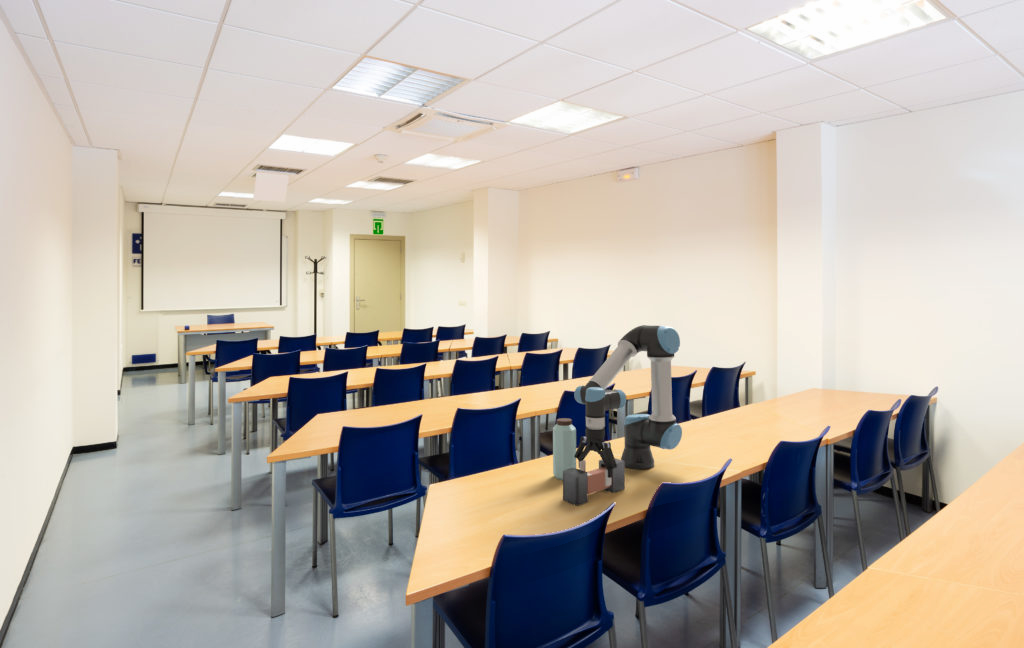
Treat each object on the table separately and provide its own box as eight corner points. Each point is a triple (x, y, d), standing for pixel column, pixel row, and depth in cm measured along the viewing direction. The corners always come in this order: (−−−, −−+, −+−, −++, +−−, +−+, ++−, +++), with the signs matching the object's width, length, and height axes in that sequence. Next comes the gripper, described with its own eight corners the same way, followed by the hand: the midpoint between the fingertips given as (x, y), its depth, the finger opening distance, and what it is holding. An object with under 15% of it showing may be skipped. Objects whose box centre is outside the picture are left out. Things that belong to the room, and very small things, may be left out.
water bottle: (575, 481, 230) (574, 422, 229) (551, 480, 232) (551, 422, 231) (577, 474, 240) (576, 417, 239) (554, 472, 242) (554, 417, 241)
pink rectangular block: (611, 481, 223) (611, 464, 223) (618, 484, 220) (618, 466, 220) (580, 491, 212) (580, 473, 212) (587, 494, 209) (587, 475, 209)
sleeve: (610, 484, 226) (610, 457, 225) (624, 489, 220) (624, 461, 219) (599, 488, 221) (598, 460, 221) (613, 493, 216) (612, 464, 215)
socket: (573, 496, 212) (573, 467, 212) (587, 502, 207) (587, 472, 206) (563, 500, 209) (562, 470, 208) (576, 505, 203) (576, 475, 202)
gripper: (565, 423, 221) (565, 475, 222) (613, 434, 202) (613, 491, 202) (579, 420, 226) (578, 471, 226) (626, 431, 206) (626, 487, 207)
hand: (595, 481), depth 214 cm, fingers open, 13 cm apart
